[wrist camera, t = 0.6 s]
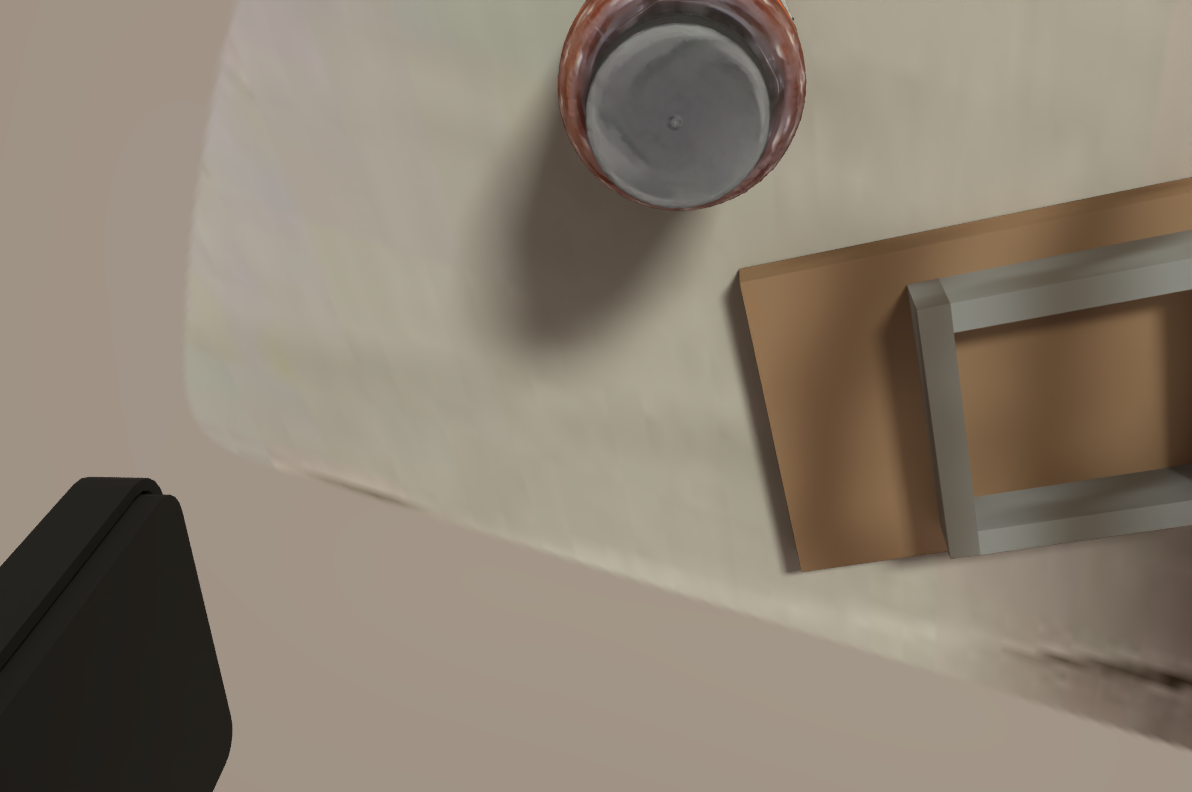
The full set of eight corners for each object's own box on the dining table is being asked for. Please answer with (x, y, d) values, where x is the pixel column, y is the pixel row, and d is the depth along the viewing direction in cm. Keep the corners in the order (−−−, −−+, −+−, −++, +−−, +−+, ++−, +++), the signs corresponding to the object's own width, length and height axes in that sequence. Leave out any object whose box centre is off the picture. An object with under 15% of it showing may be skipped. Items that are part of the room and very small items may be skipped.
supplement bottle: (719, 160, 35) (718, 302, 25) (556, 66, 34) (488, 174, 24) (826, -11, 32) (874, 72, 22) (652, -119, 31) (621, -83, 21)
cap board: (1402, 134, 32) (1467, 165, 29) (1376, 468, 37) (1429, 521, 35) (739, 268, 36) (740, 307, 34) (799, 552, 42) (805, 606, 39)
